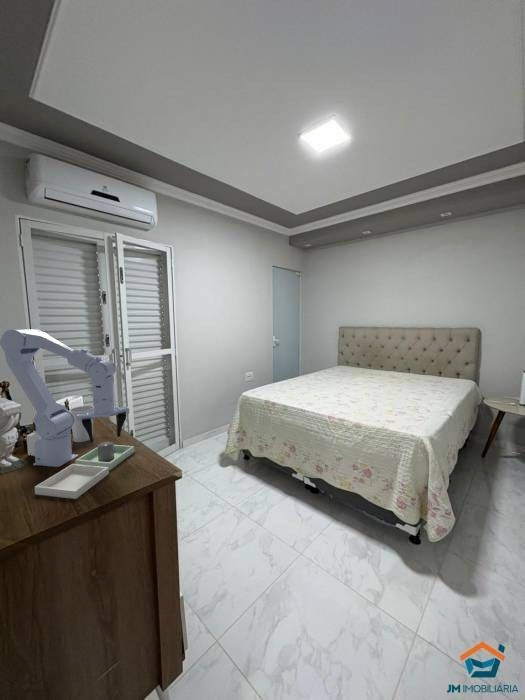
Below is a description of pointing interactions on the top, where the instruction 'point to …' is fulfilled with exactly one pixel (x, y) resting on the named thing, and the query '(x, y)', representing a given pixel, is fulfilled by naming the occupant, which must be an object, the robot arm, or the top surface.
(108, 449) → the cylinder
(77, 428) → the cup
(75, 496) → the bin
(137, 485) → the top surface
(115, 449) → the bin
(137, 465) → the top surface
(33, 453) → the medicine bottle
